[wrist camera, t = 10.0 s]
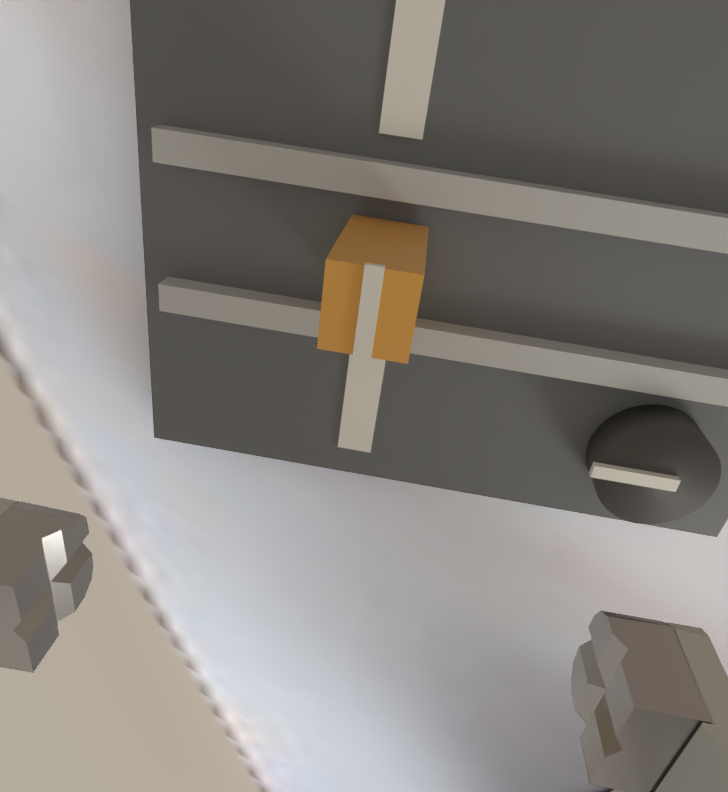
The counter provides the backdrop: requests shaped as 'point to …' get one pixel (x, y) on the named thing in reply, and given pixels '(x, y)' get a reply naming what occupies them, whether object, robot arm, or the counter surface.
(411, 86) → the console board
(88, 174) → the counter surface
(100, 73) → the counter surface
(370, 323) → the fader knob
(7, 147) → the counter surface
